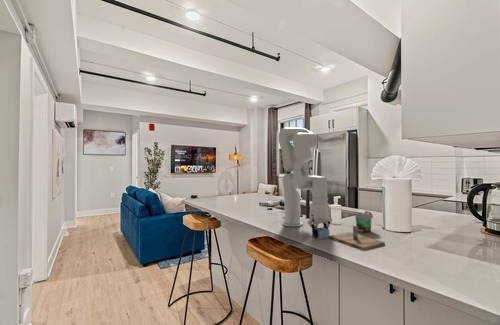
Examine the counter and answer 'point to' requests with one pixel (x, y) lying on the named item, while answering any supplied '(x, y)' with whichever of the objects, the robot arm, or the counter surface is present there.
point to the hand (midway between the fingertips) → (320, 235)
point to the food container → (364, 222)
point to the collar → (322, 233)
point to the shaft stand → (357, 240)
